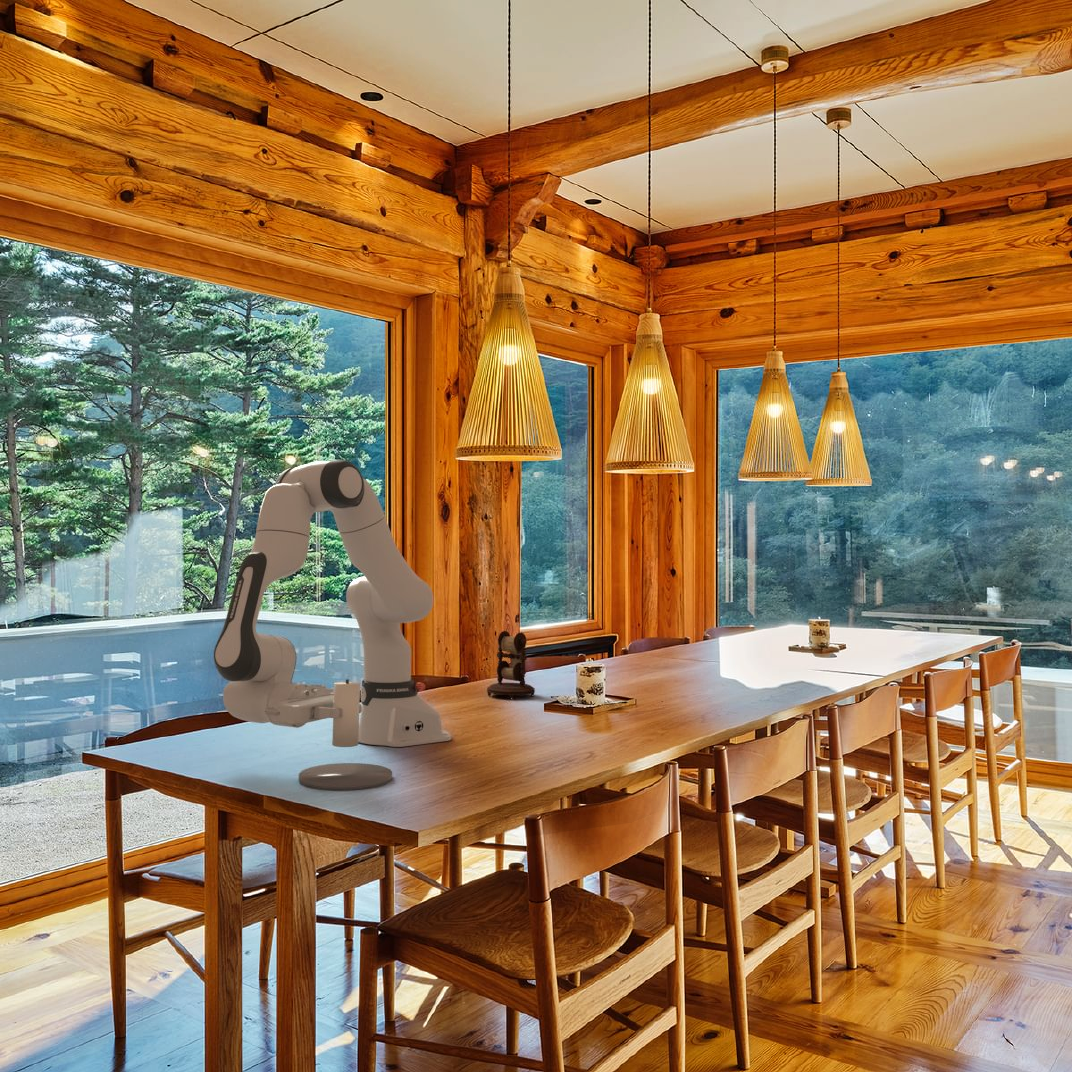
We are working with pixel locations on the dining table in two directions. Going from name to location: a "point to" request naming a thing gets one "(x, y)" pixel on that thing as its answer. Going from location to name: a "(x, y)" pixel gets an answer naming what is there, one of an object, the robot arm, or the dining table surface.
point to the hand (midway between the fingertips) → (350, 711)
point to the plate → (345, 776)
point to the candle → (346, 714)
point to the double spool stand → (517, 666)
